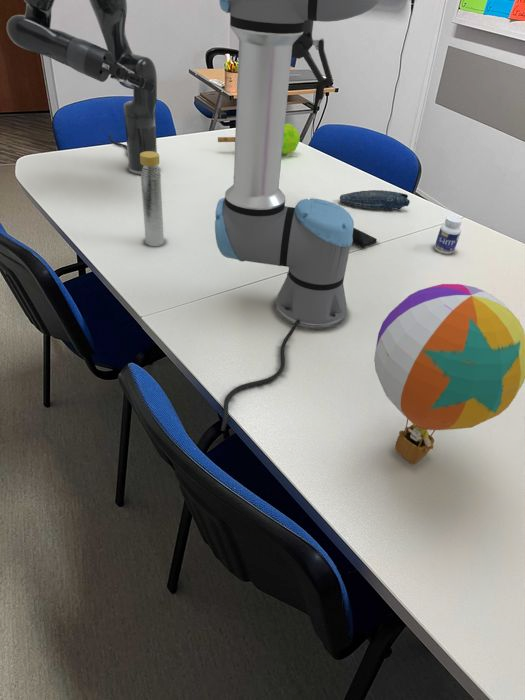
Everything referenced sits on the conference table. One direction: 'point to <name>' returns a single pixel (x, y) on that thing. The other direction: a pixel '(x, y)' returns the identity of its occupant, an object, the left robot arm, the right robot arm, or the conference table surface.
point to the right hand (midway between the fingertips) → (288, 109)
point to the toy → (448, 362)
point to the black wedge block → (362, 238)
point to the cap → (149, 158)
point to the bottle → (152, 205)
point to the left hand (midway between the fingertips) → (149, 86)
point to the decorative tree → (289, 139)
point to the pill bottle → (448, 235)
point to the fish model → (376, 199)
